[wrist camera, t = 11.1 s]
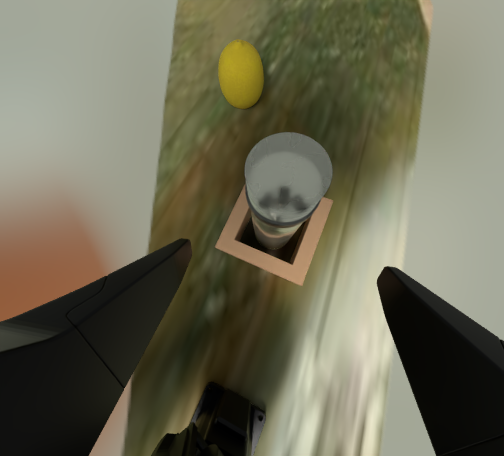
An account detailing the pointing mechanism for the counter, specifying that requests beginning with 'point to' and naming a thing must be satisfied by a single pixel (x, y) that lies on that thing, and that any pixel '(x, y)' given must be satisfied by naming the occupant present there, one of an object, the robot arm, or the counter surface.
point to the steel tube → (284, 185)
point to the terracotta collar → (288, 271)
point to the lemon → (241, 74)
